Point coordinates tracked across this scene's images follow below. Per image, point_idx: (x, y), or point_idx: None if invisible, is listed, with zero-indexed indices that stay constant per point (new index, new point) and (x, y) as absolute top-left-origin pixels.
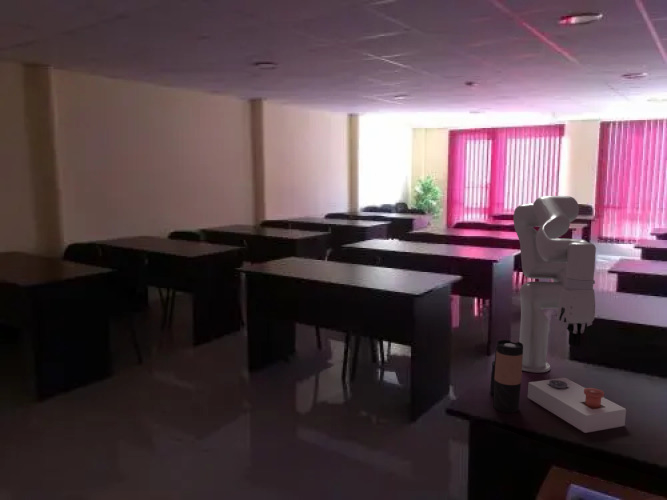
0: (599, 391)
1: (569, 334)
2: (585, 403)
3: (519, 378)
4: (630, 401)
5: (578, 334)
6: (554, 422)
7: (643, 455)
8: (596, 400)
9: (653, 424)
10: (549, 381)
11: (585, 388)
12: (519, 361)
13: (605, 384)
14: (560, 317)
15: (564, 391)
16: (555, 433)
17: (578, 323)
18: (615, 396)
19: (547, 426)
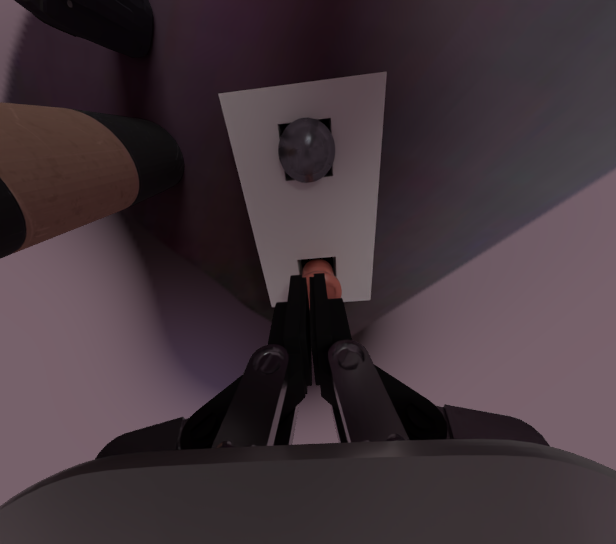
0: (332, 295)
1: (268, 341)
2: (303, 270)
3: (114, 212)
4: (489, 190)
5: (305, 390)
6: (242, 246)
7: None
8: None
9: (416, 284)
10: (284, 130)
11: (310, 276)
12: (45, 239)
13: (574, 39)
14: (50, 524)
15: (300, 195)
16: (224, 279)
17: (378, 432)
18: (489, 152)
19: (221, 256)
